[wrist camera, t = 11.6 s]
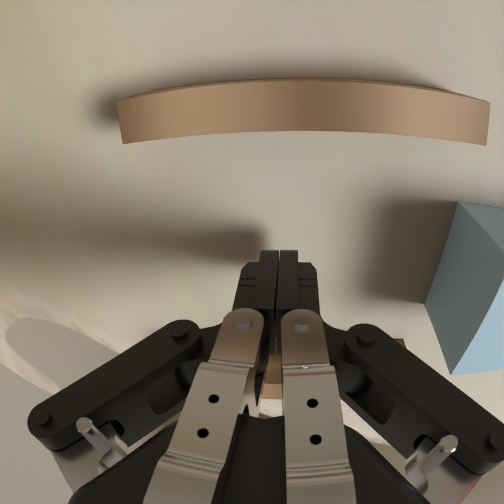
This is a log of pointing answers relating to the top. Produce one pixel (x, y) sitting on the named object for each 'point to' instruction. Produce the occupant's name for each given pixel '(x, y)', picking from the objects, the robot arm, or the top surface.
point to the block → (471, 291)
